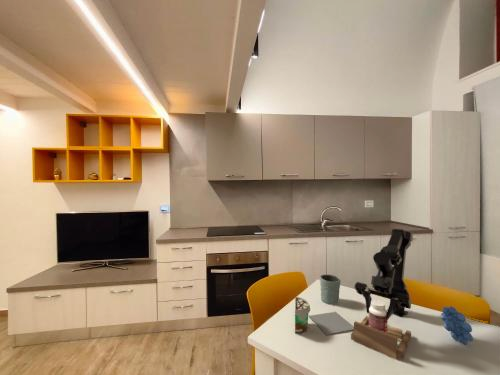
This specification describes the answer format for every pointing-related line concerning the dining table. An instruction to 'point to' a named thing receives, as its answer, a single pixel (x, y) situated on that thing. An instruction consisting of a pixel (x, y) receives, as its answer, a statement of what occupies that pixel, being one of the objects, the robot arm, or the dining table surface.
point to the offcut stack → (395, 332)
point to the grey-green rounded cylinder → (330, 289)
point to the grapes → (456, 325)
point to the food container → (301, 315)
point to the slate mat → (331, 323)
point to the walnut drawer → (379, 339)
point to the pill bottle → (378, 315)
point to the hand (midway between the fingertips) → (376, 316)
